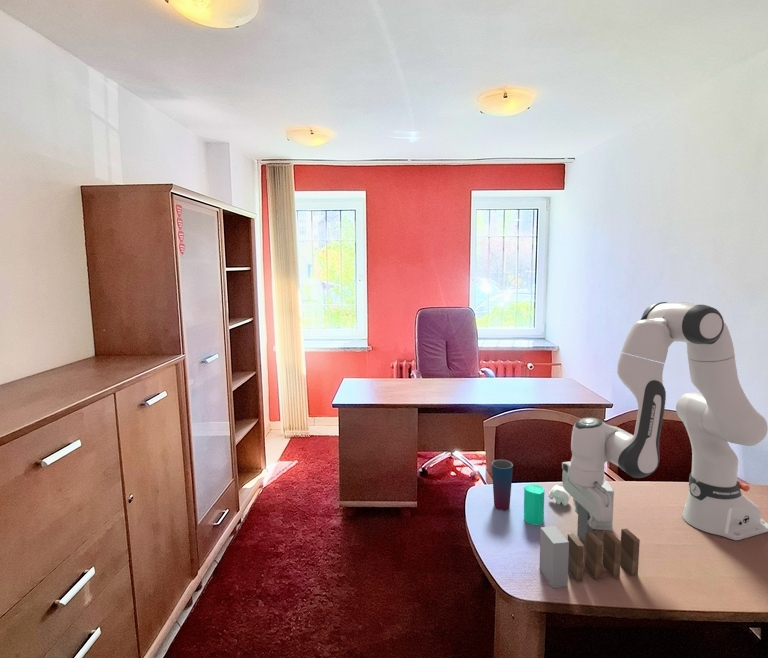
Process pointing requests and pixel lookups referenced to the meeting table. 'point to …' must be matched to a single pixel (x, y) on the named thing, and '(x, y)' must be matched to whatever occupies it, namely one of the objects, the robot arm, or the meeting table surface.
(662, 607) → the meeting table surface
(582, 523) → the gray domino
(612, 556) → the domino
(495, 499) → the cup
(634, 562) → the domino
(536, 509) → the candle
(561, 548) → the end block
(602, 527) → the supplement box
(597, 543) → the domino
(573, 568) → the domino
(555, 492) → the elephant figurine
